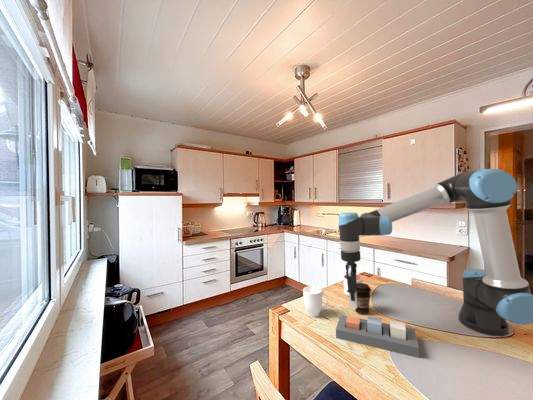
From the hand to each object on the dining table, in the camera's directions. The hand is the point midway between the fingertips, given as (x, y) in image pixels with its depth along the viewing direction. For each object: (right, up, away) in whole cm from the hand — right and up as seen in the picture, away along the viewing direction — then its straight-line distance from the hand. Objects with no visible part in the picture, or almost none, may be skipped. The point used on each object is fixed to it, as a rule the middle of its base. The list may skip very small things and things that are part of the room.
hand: (353, 307), depth 93 cm
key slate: (+7, -9, -3) cm, 12 cm away
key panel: (+7, -11, -3) cm, 13 cm away
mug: (-12, -11, +17) cm, 23 cm away
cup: (+13, -10, +35) cm, 39 cm away
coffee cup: (+11, -10, +16) cm, 22 cm away
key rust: (0, -10, 0) cm, 10 cm away
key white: (+14, -8, -7) cm, 18 cm away
